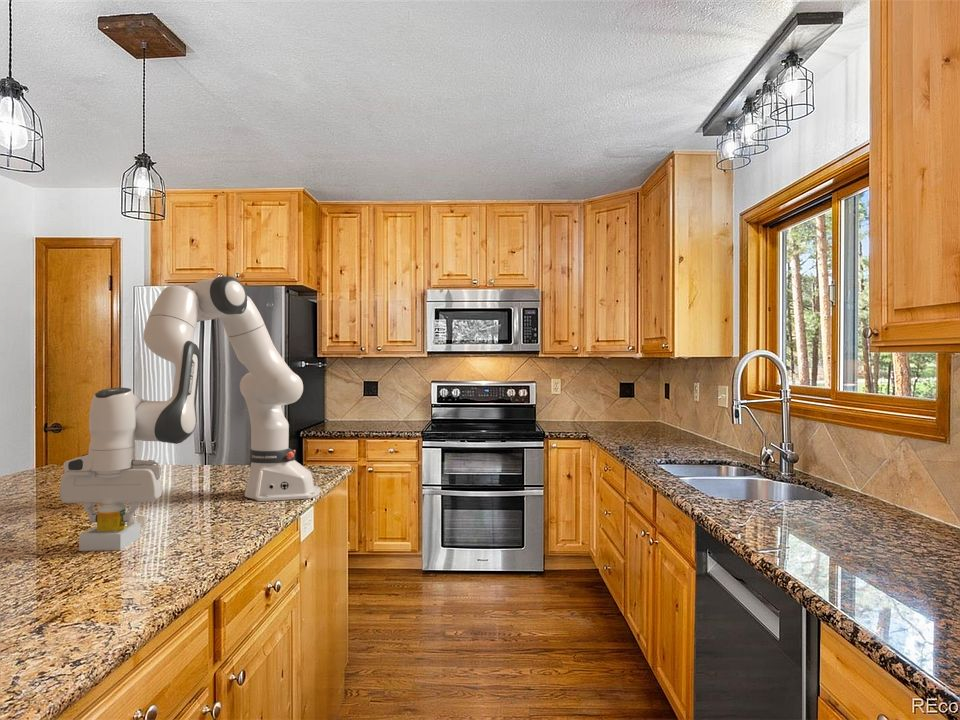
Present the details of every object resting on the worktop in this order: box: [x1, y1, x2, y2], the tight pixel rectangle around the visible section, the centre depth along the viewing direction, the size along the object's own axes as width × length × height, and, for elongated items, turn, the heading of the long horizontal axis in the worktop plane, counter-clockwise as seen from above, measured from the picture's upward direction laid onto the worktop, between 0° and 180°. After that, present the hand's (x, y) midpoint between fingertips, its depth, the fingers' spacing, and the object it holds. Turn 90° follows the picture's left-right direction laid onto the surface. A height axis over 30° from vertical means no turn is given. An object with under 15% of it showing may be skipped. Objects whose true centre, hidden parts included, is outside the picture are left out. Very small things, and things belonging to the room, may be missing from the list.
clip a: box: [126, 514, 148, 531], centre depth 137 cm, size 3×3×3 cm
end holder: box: [78, 523, 141, 552], centre depth 126 cm, size 8×8×4 cm
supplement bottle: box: [96, 498, 127, 533], centre depth 126 cm, size 5×5×10 cm
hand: (111, 521), depth 126 cm, fingers open, 6 cm apart
